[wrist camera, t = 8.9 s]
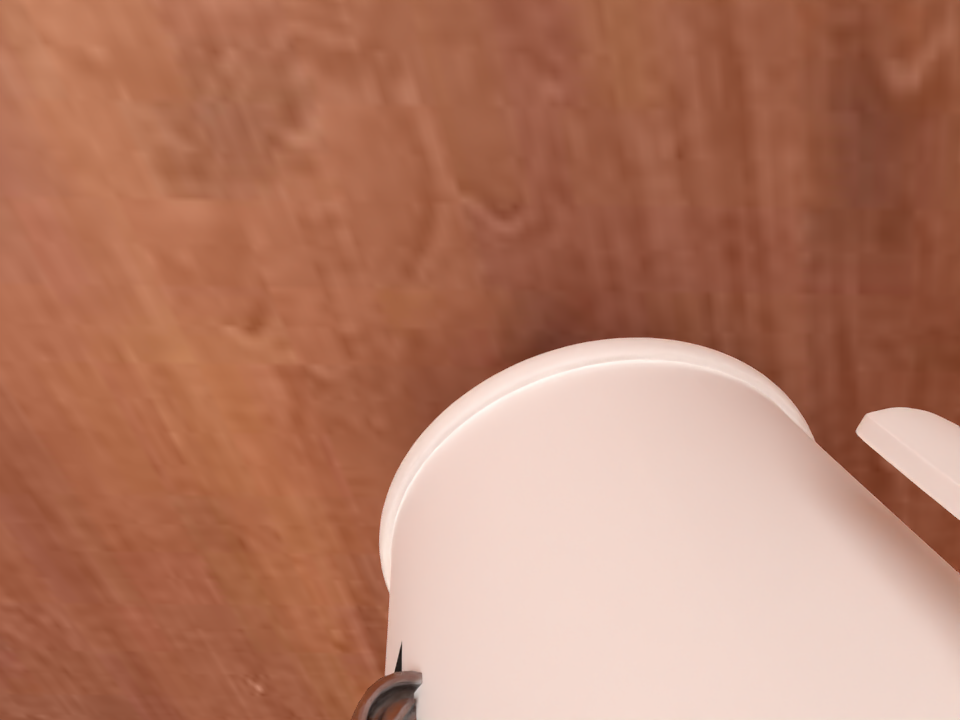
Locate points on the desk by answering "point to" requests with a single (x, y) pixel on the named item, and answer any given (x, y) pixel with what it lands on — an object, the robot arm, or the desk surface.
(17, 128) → the desk surface
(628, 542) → the smoke grenade
